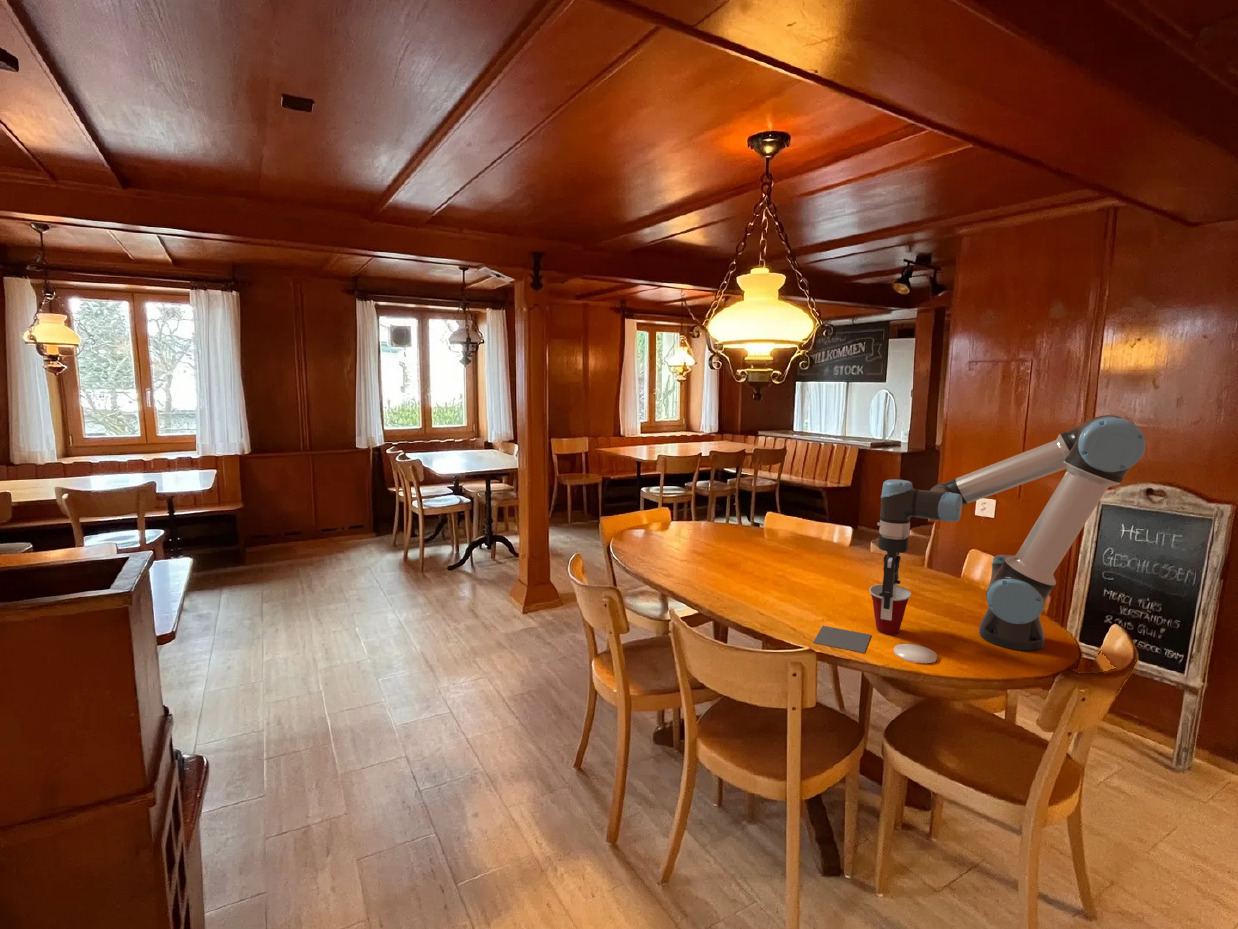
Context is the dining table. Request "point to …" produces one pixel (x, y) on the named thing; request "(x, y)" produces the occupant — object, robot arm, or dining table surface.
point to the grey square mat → (842, 639)
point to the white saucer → (915, 653)
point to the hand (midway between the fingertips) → (888, 612)
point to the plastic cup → (898, 608)
